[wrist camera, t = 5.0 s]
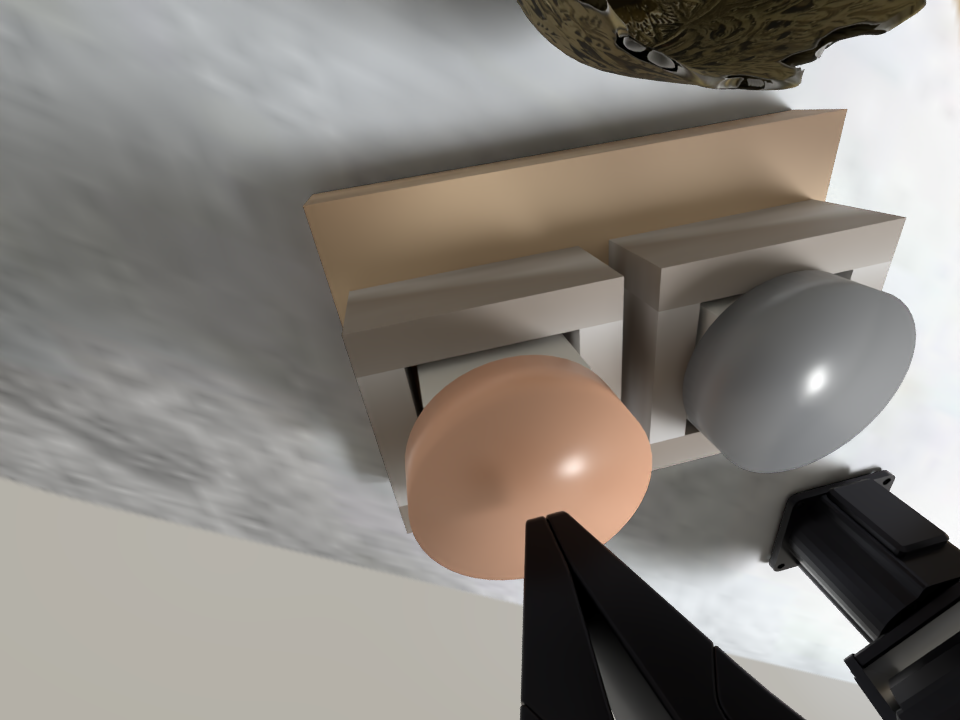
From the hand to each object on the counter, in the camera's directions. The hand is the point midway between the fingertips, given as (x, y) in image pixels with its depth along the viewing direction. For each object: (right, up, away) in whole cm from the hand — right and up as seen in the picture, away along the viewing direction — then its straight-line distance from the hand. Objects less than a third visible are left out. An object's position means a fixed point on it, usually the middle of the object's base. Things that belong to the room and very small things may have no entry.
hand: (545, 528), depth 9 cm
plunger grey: (+7, +5, +6) cm, 10 cm away
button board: (+2, +5, +8) cm, 10 cm away
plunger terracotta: (-1, +2, +5) cm, 5 cm away
